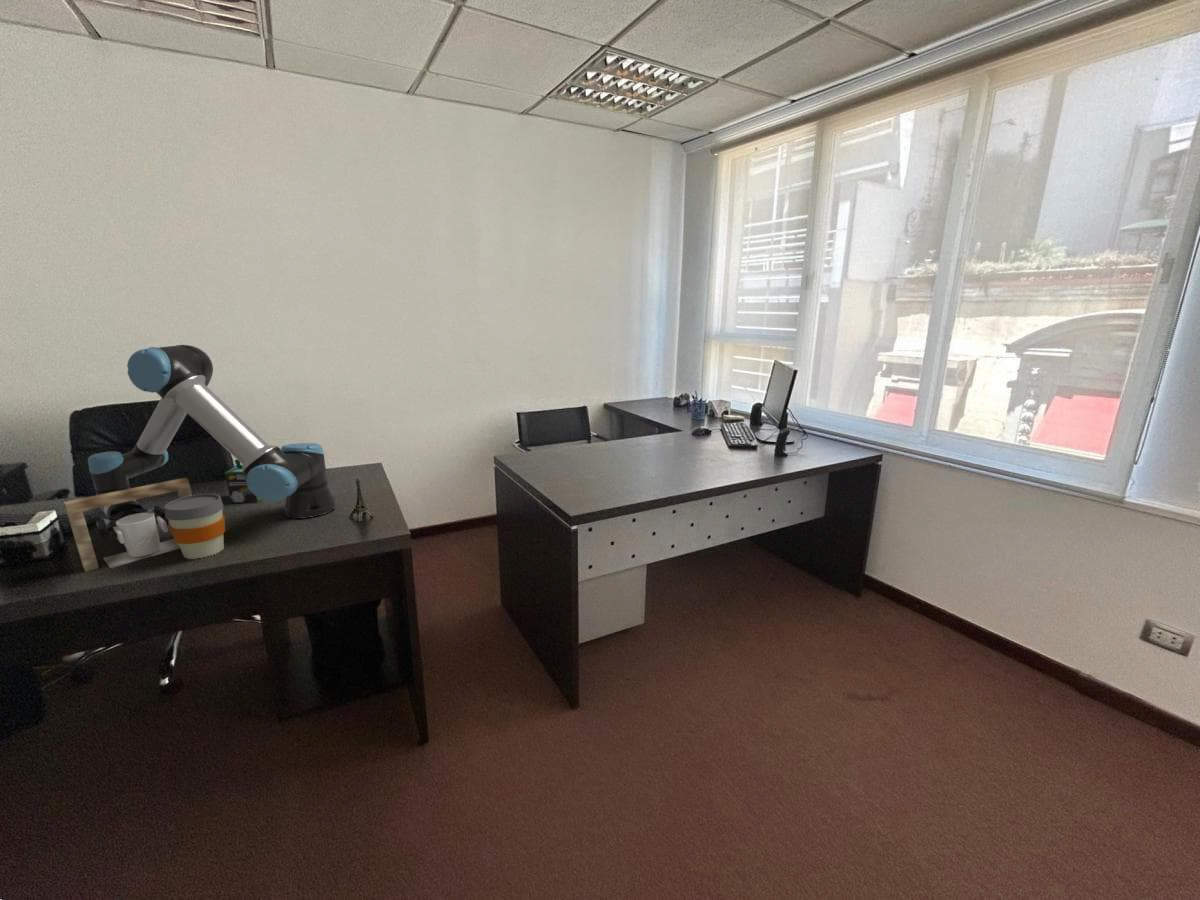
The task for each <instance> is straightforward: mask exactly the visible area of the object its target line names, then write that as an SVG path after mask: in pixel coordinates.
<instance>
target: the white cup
mask: <svg viewBox="0 0 1200 900" xmlns="http://www.w3.org/2000/svg"><path fill="white" fill-rule="evenodd" d="M116 525H117V528H118V529H119V530H120V531H121V532H122V533H123V537H124V541H125V543H123V545H124V547H125V550H126V552H128V555H129V556H131V557H140V556H145V555H149V554H152V553H154V552H156V551H158V550H159V549H160V548H161V545H160V542H161V541H160V536H159V535H160V534H159V529H158V524H157V523H156V519H155V515H154V513H138V514H133V515H129V516H126V517H123V518H121V519H119V520H118V521H116Z"/></svg>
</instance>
